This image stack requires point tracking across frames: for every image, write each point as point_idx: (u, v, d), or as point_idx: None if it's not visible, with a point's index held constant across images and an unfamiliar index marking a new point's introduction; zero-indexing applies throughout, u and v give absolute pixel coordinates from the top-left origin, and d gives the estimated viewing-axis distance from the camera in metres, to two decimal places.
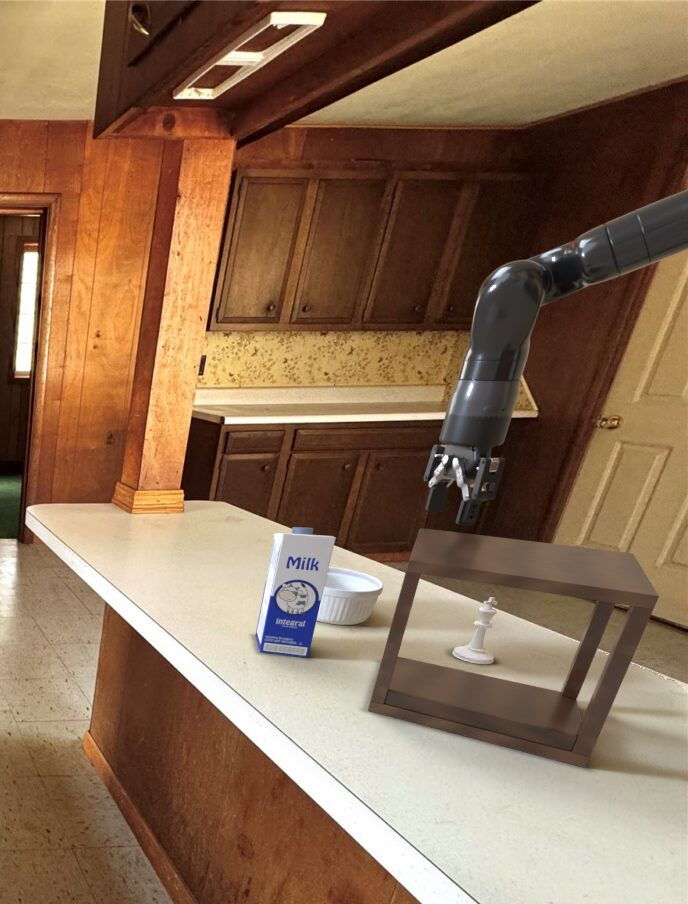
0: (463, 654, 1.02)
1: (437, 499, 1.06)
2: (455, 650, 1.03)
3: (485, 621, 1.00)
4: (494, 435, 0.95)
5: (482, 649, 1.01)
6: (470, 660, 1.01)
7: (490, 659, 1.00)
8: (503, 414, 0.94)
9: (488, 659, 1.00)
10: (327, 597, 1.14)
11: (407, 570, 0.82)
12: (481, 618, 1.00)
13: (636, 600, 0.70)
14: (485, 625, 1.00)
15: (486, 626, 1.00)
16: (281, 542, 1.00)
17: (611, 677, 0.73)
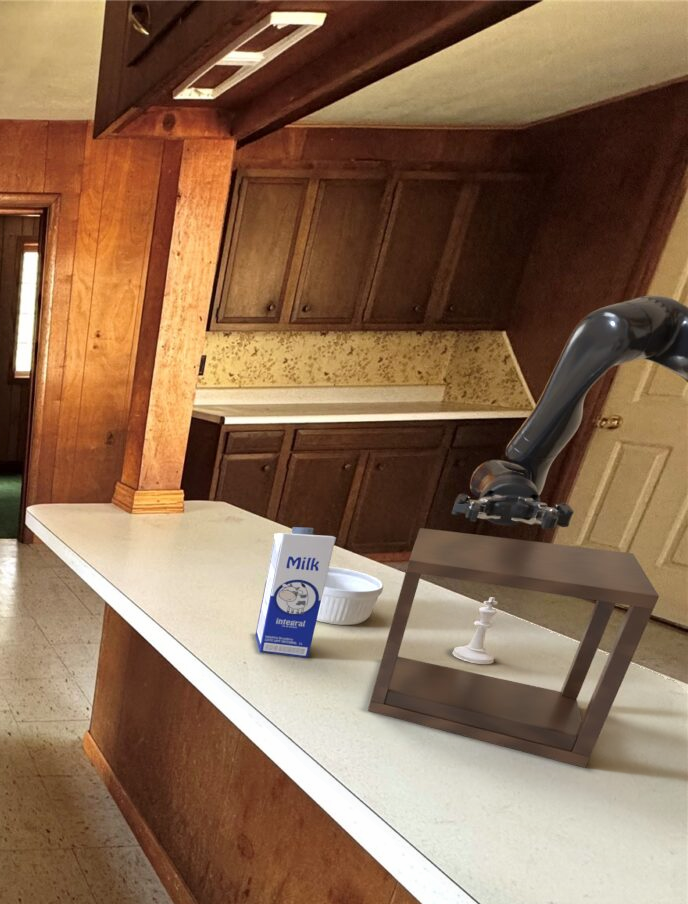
0: (463, 654, 1.02)
1: (543, 520, 1.02)
2: (455, 650, 1.03)
3: (485, 621, 1.00)
4: (482, 495, 1.14)
5: (482, 649, 1.01)
6: (470, 660, 1.01)
7: (490, 659, 1.00)
8: (484, 490, 1.16)
9: (488, 659, 1.00)
10: (327, 597, 1.14)
11: (407, 570, 0.82)
12: (481, 618, 1.00)
13: (636, 600, 0.70)
14: (485, 625, 1.00)
15: (486, 626, 1.00)
16: (281, 542, 1.00)
17: (611, 677, 0.73)
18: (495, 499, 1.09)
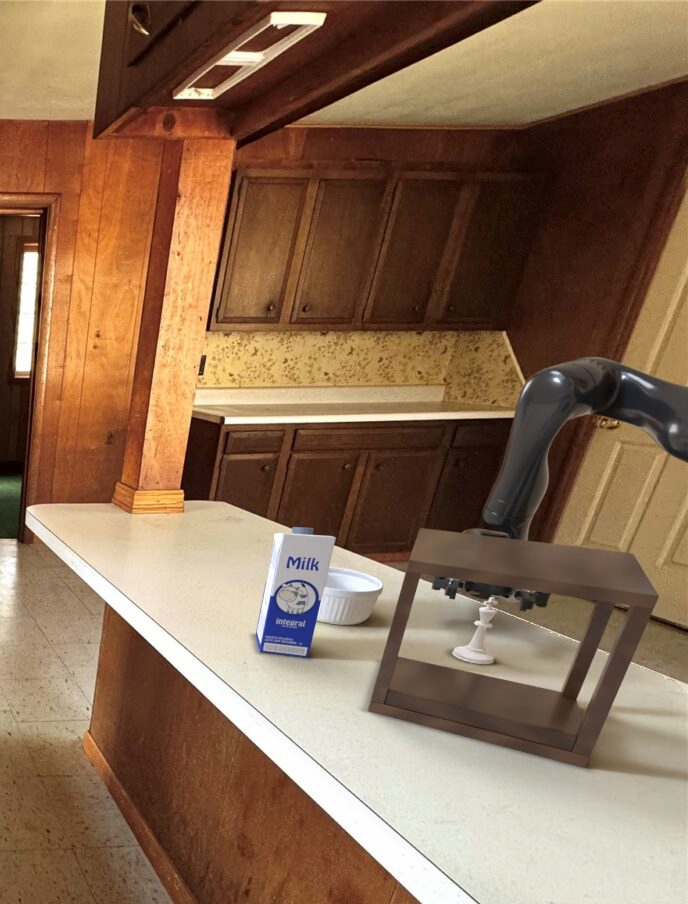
0: (463, 654, 1.02)
1: (521, 601, 1.03)
2: (455, 650, 1.03)
3: (485, 621, 1.00)
4: None
5: (482, 649, 1.01)
6: (470, 660, 1.01)
7: (490, 659, 1.00)
8: None
9: (488, 659, 1.00)
10: (327, 597, 1.14)
11: (407, 570, 0.82)
12: (481, 618, 1.00)
13: (636, 600, 0.70)
14: (485, 625, 1.00)
15: (486, 626, 1.00)
16: (281, 542, 1.00)
17: (611, 677, 0.73)
18: None
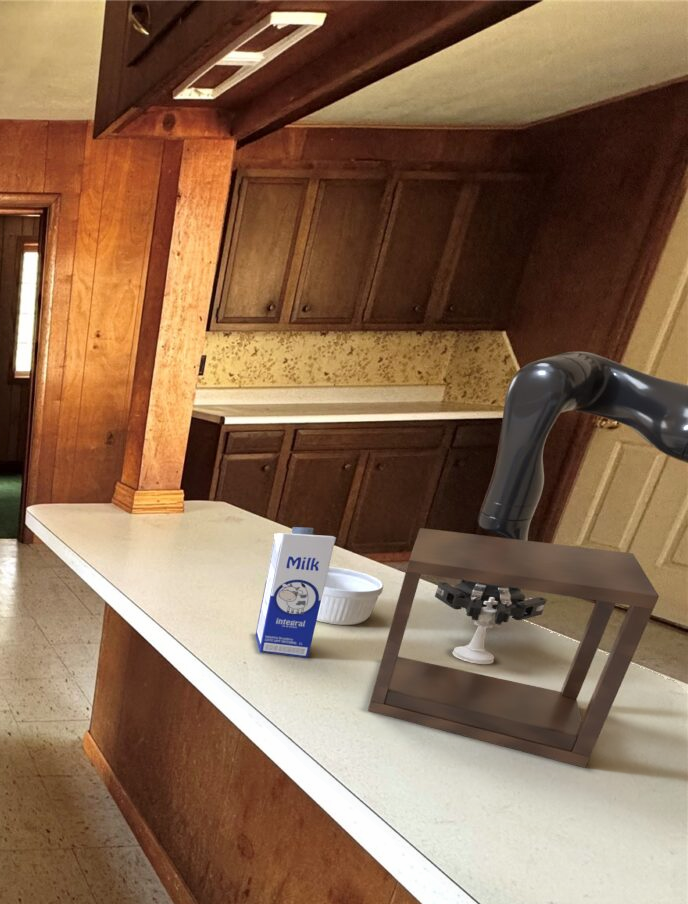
0: (463, 654, 1.02)
1: (496, 613, 0.98)
2: (455, 650, 1.03)
3: (485, 621, 1.00)
4: None
5: (482, 649, 1.01)
6: (470, 660, 1.01)
7: (490, 659, 1.00)
8: None
9: (488, 659, 1.00)
10: (327, 597, 1.14)
11: (407, 570, 0.82)
12: (481, 618, 1.00)
13: (636, 600, 0.70)
14: (485, 625, 1.00)
15: (486, 626, 1.00)
16: (281, 542, 1.00)
17: (611, 677, 0.73)
18: (484, 590, 1.03)
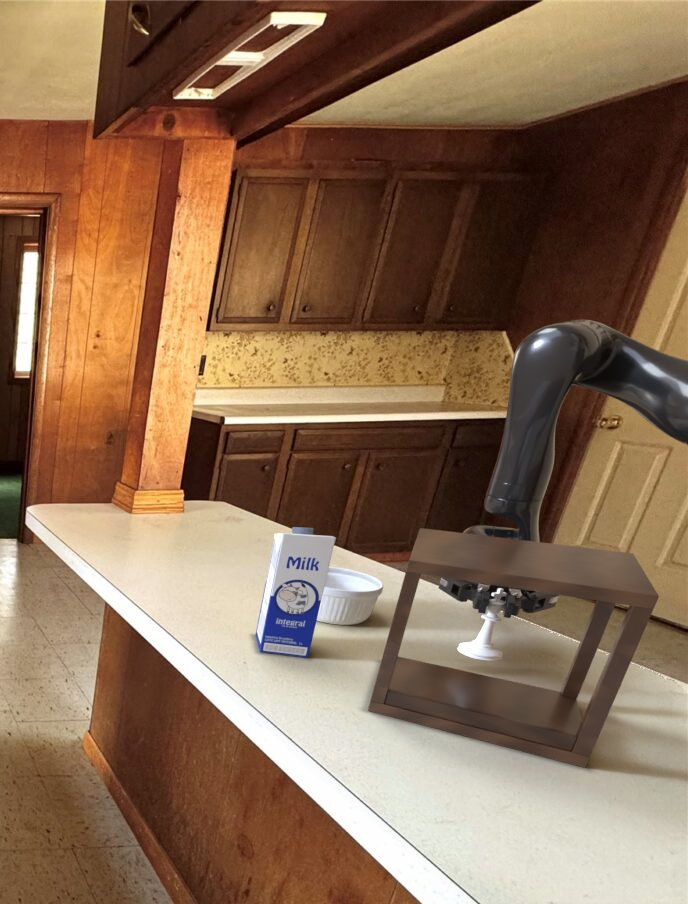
0: (469, 650, 0.94)
1: (505, 606, 0.91)
2: (460, 646, 0.96)
3: (493, 614, 0.92)
4: None
5: (490, 645, 0.93)
6: (476, 656, 0.93)
7: (498, 655, 0.93)
8: None
9: (496, 656, 0.93)
10: (327, 597, 1.14)
11: (407, 570, 0.82)
12: (489, 611, 0.92)
13: (636, 600, 0.70)
14: (493, 619, 0.92)
15: (494, 620, 0.92)
16: (281, 542, 1.00)
17: (611, 677, 0.73)
18: None
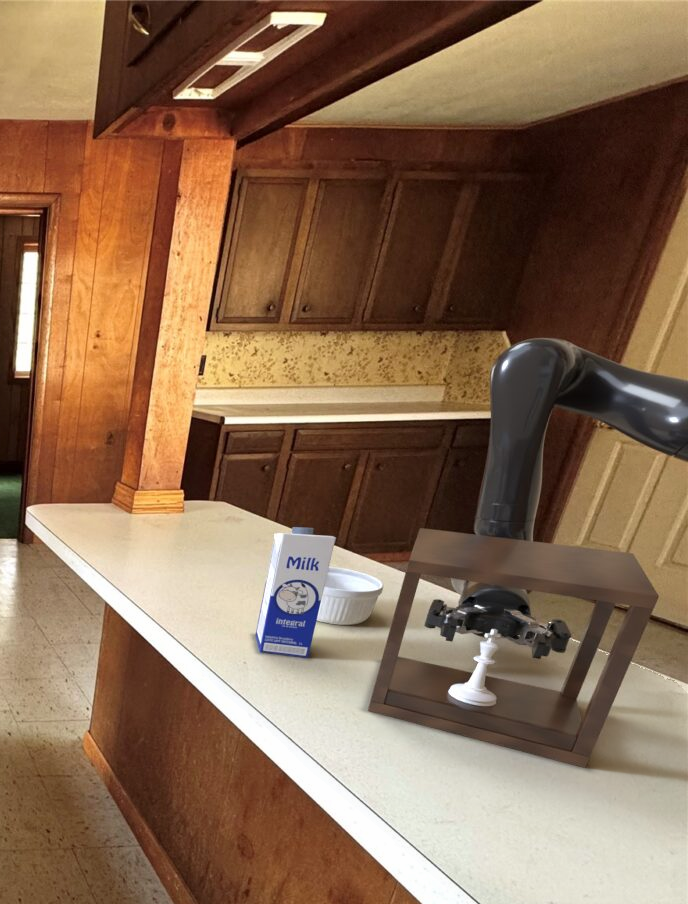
0: (461, 694, 0.88)
1: (534, 645, 0.83)
2: (452, 688, 0.90)
3: (486, 656, 0.86)
4: (461, 600, 0.96)
5: (483, 688, 0.87)
6: (469, 701, 0.87)
7: (492, 700, 0.87)
8: (464, 592, 0.97)
9: (489, 701, 0.87)
10: (327, 597, 1.14)
11: (407, 570, 0.82)
12: (482, 653, 0.87)
13: (636, 600, 0.70)
14: (486, 661, 0.86)
15: (487, 662, 0.86)
16: (281, 542, 1.00)
17: (611, 677, 0.73)
18: (476, 611, 0.90)
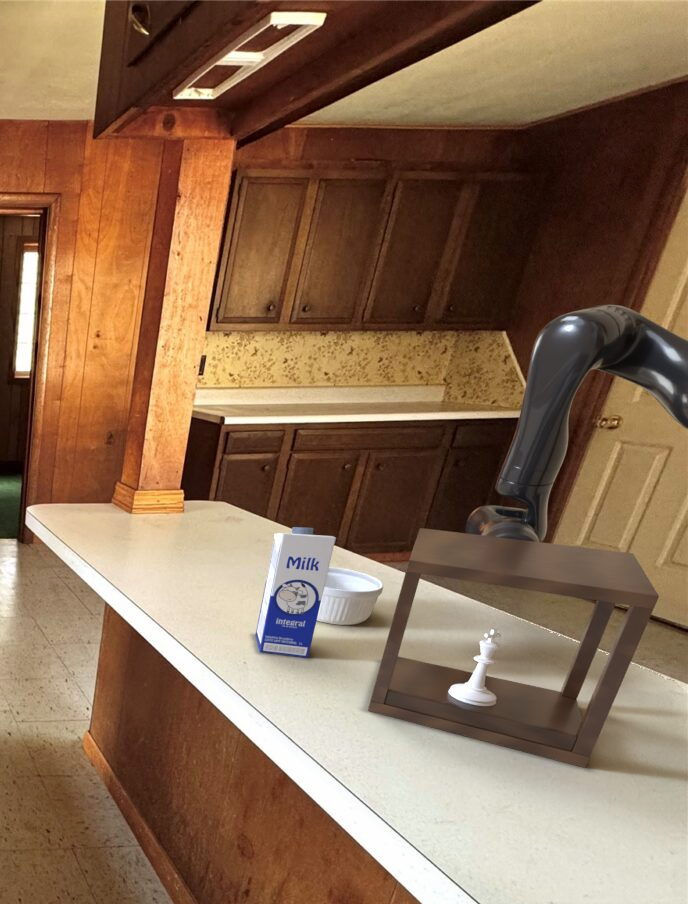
0: (461, 694, 0.88)
1: None
2: (452, 688, 0.90)
3: (486, 656, 0.86)
4: None
5: (483, 688, 0.87)
6: (469, 701, 0.87)
7: (492, 700, 0.87)
8: None
9: (489, 701, 0.87)
10: (327, 597, 1.14)
11: (407, 570, 0.82)
12: (482, 653, 0.87)
13: (636, 600, 0.70)
14: (486, 661, 0.86)
15: (487, 662, 0.86)
16: (281, 542, 1.00)
17: (611, 677, 0.73)
18: None
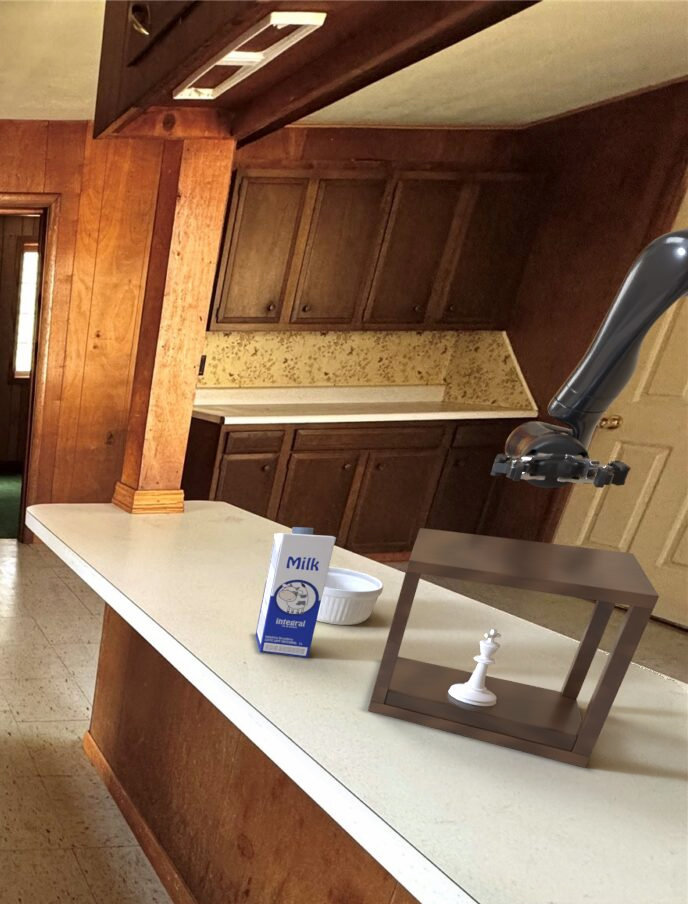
0: (461, 694, 0.88)
1: (597, 478, 0.92)
2: (452, 688, 0.90)
3: (486, 656, 0.86)
4: (523, 455, 1.04)
5: (483, 688, 0.87)
6: (469, 701, 0.87)
7: (492, 700, 0.87)
8: (524, 450, 1.06)
9: (489, 701, 0.87)
10: (327, 597, 1.14)
11: (407, 570, 0.82)
12: (482, 653, 0.87)
13: (636, 600, 0.70)
14: (486, 661, 0.86)
15: (487, 662, 0.86)
16: (281, 542, 1.00)
17: (611, 677, 0.73)
18: (540, 457, 0.98)
